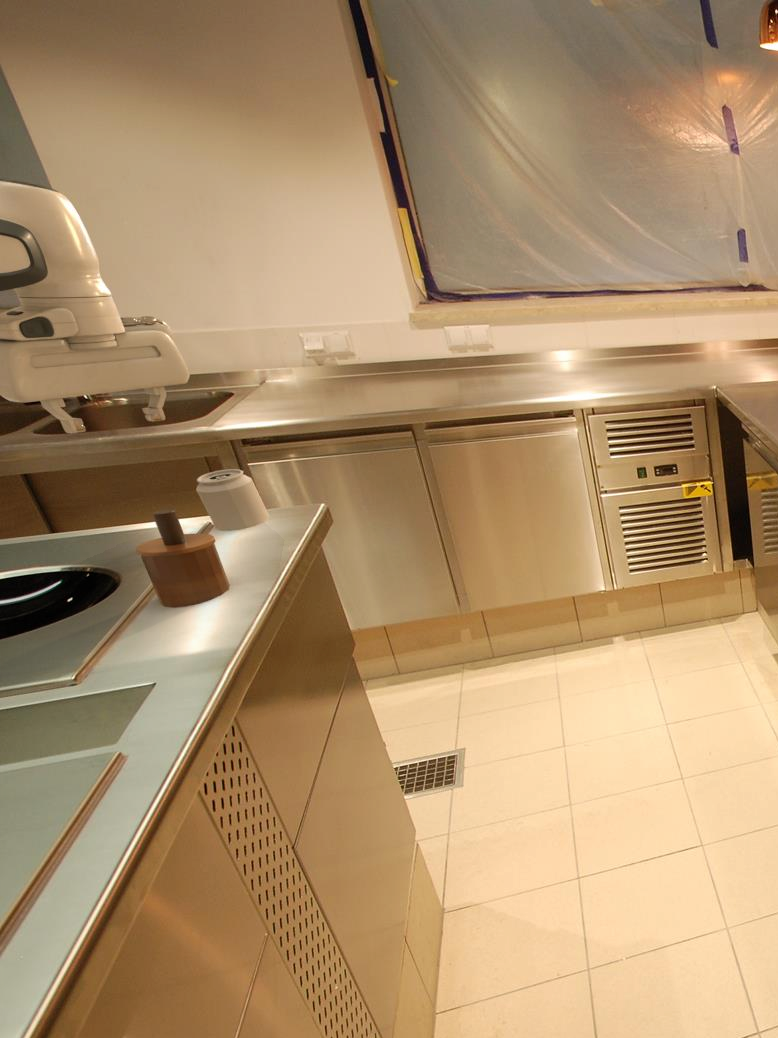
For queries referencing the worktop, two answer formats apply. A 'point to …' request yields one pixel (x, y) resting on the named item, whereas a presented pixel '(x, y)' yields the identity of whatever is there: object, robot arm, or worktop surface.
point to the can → (231, 500)
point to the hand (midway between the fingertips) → (117, 426)
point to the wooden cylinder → (187, 577)
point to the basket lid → (172, 537)
